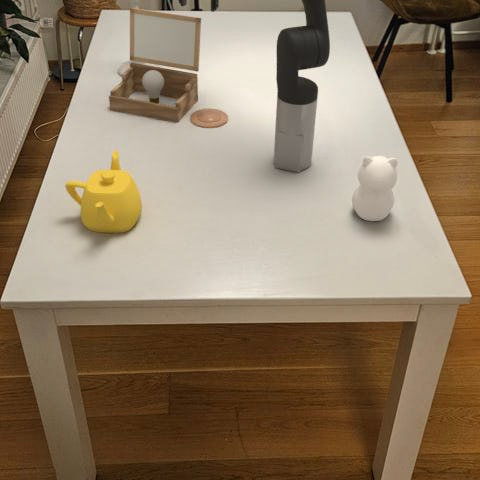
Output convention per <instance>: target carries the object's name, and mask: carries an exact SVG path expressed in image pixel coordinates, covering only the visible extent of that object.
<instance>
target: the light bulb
mask: <svg viewBox="0 0 480 480" xmlns="http://www.w3.org/2000/svg"><path fill="white" fill-rule="evenodd" d="M142 84H143V87H144V88H145V89H146V91H147V93H146V94H147V95H148V99H149V101H148V102H152V103H158V104H160V97H161V96H160V92H161V90H162V88H163V86H164V78H163V76H162V74H161V73H160V72H158V71H155V70H151V71H148V72H146V73H145V74H144V76H143V79H142Z"/></svg>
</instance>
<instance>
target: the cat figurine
mask: <svg viewBox="0 0 480 480" xmlns="http://www.w3.org/2000/svg"><path fill="white" fill-rule="evenodd" d="M397 166H398V158H397V157H389V158H388V157H387V156H384V155H375V156H368V155H367V156H364V158H363V159H362V164H360V167H359V169H358V172H357V178H358V179H357V180H358V184H357V185H356V186H355V188H354V190H353V193H352V196H351V203H352V207H353V209H354V211H355V212H356V214H357V215H358V217H359V218H361V219H363V220H364V221H368V222H379V221H380V222H381V221H383V220H385V219H386V217H388V216H389V214H390V212H391V211H392V209H393V207H394V204H395V193H394V190H393V189H394V187H395V185H396V183H397V180H398V170H397Z"/></svg>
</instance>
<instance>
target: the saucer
mask: <svg viewBox="0 0 480 480" xmlns="http://www.w3.org/2000/svg"><path fill="white" fill-rule="evenodd" d="M189 118H190V121H191V124H193V125H195V126H196V127H199V128H204V129H215V128H219V127H222V126H224V125H225V124H227V123H228V121H229V115H228V114H227V113H226V112H225V111H223V110H221V109H218V108H217V109H216V108H202V109H197V110H195V111H193V113H191V114H190V117H189Z"/></svg>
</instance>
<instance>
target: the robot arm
mask: <svg viewBox="0 0 480 480" xmlns="http://www.w3.org/2000/svg"><path fill="white" fill-rule="evenodd" d="M187 2H188V1H187V0H178V3H179V5H180V7H185V6H186V5H187ZM219 3H220V1H219V0H210V11H211V12H212V13H214V12H215V11H217V9H219V6H220V5H219ZM301 3H302V5H303V9H304V10H303V11H304V15H305V22H306V23H305V25H301V26H292V27H286V28H283V29H281V30H280V32H279V34H278V36H277V40H276V50H275V51H276V77H275V79H276V89H277V90H276V91H277V92H276V93H277V95H276V96H277V97H276V98H277V99H276V108H275V109H276V111H275V126H274V127H275V131H274V132H275V133H274V149H273V150H274V151H273V163H274V164H275V165H274V167H275V168H276V169H281V170H286V171H289V172H290V171H291V172H296V173H301V171H302V170H306V169H308V168H309V167H310V166H311V165H312V161H313V160H312V159H313V151H314V150H313V149H314V140H315V138H314V137H315V131H316V130H315V126H316V117H317V107H318V96H319V86H318V85H317V83H316V82H315V81H313V80H312V79H310V78H309V77H308V78H307V77H303V76H299V72H300V71H303V70H310V69H316V68H317V69H318V68H321V67H324V66H325V65H326V64H328V63H327V62H328V61H329V58H330V54H331V53H330V51H331V48H330V47H331V43H330V41H331V40H330V31H329V23H328V15H327V5H326V0H301Z"/></svg>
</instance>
